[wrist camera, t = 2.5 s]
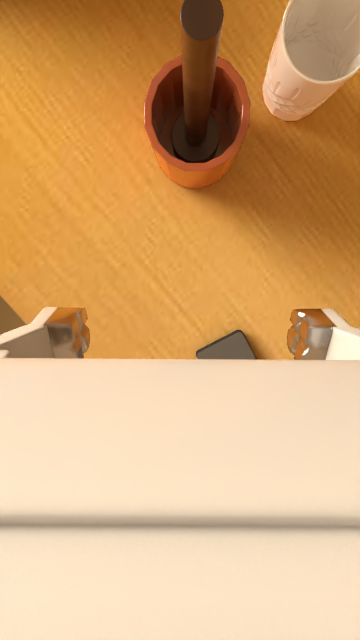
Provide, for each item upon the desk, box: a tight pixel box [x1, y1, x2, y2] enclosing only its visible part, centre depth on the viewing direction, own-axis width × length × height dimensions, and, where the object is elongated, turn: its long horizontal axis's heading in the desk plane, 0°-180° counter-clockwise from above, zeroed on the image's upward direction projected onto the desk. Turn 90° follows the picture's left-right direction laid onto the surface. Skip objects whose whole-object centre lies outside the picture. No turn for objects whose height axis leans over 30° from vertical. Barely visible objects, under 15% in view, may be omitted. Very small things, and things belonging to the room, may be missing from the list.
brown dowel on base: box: [171, 0, 224, 163], centre depth 26 cm, size 5×5×21 cm
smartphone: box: [196, 330, 257, 360], centre depth 43 cm, size 7×1×15 cm
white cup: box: [262, 0, 360, 121], centre depth 30 cm, size 8×8×10 cm
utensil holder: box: [144, 55, 250, 188], centre depth 33 cm, size 9×9×9 cm
